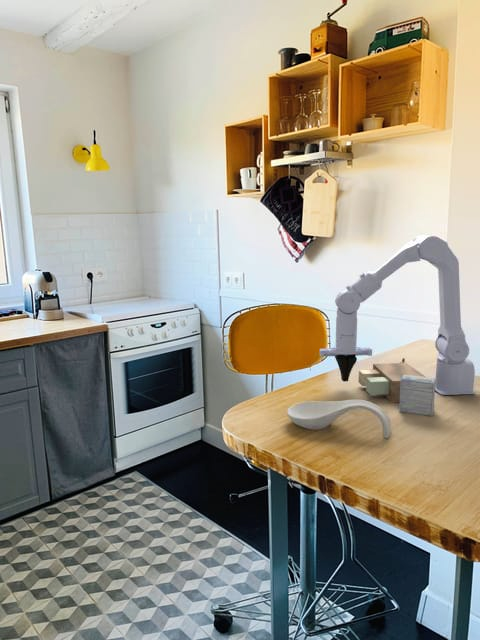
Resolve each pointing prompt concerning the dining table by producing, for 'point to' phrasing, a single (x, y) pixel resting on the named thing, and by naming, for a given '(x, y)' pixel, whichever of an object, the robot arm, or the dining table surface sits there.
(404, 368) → the walnut block
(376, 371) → the beech bar
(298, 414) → the spoon rest
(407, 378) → the medicine box
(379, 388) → the sage bar
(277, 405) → the dining table surface
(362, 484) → the dining table surface
